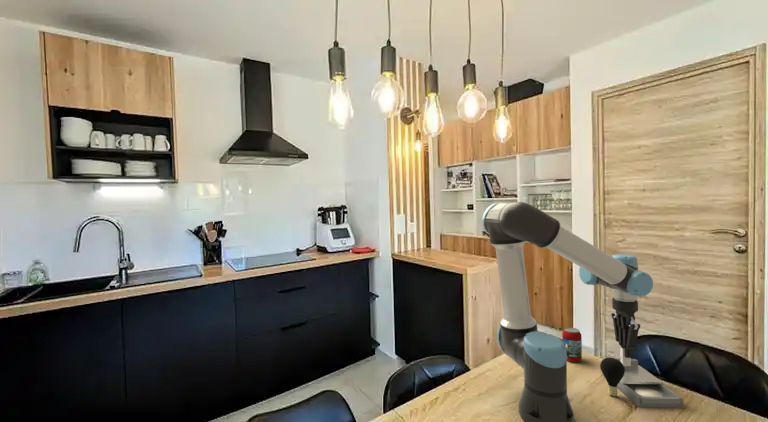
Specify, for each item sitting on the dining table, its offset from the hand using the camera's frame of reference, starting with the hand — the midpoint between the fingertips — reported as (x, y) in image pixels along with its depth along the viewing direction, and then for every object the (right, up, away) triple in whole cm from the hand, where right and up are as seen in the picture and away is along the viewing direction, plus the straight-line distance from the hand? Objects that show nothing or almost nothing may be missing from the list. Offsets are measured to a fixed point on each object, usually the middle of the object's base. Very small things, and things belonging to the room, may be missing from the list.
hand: (625, 365), depth 125 cm
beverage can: (-10, -5, +16) cm, 20 cm away
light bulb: (-11, -6, -10) cm, 16 cm away
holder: (-1, -5, -8) cm, 10 cm away
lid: (0, -2, -3) cm, 4 cm away
